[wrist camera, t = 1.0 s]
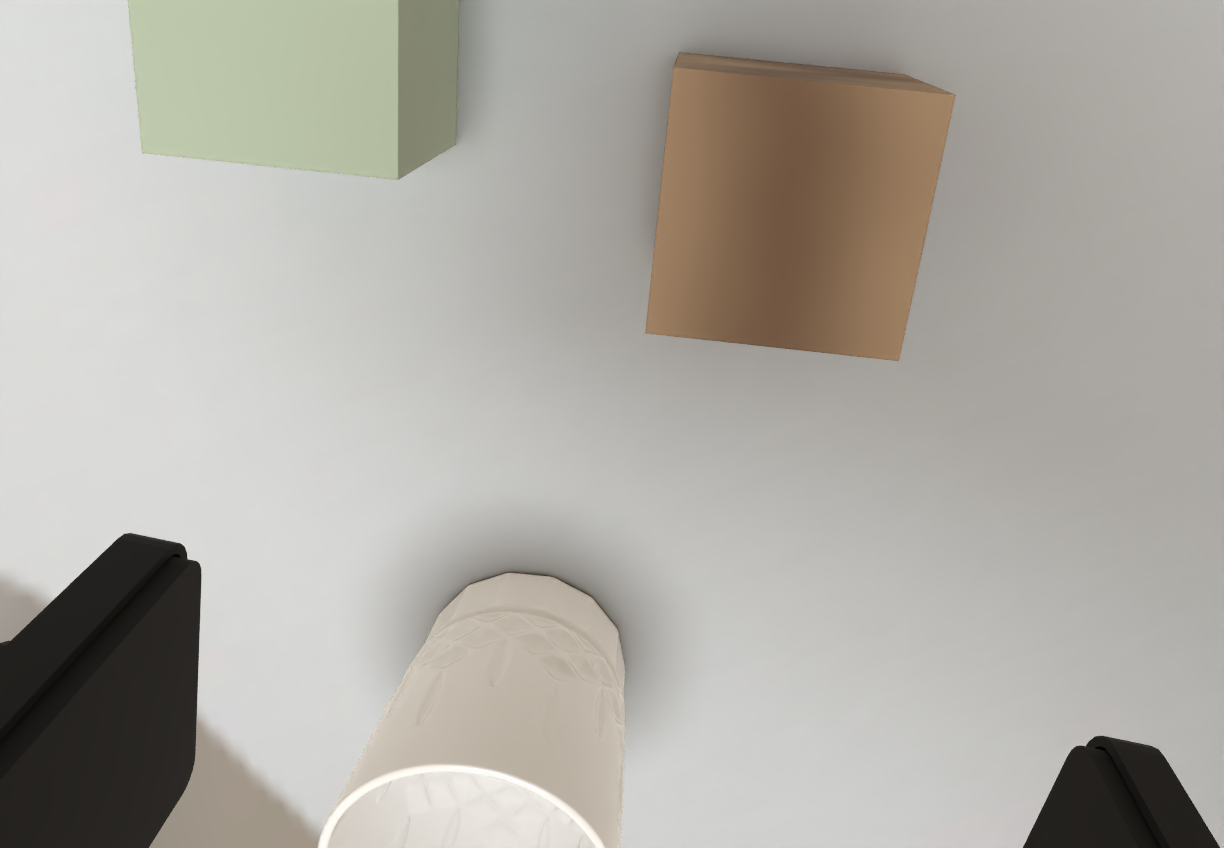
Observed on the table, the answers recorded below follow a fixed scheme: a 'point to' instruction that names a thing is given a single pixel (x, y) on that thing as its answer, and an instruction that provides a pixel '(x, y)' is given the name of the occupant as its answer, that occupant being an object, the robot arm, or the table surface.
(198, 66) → the sage cube
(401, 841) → the white cup
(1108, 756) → the robot arm
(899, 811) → the table surface
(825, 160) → the walnut cube
